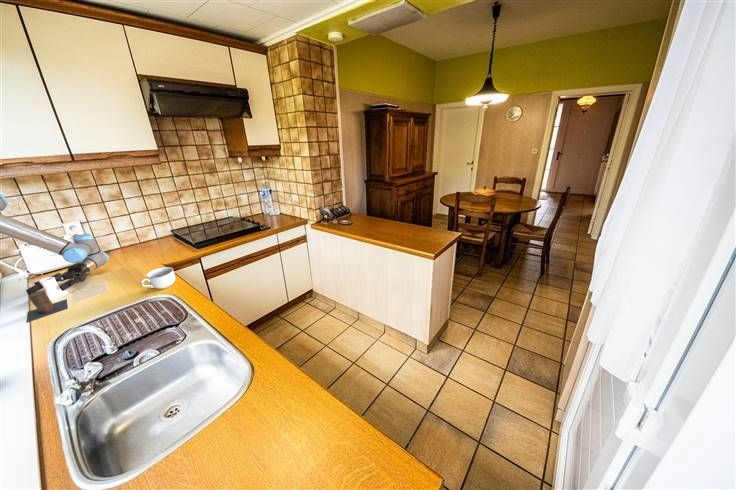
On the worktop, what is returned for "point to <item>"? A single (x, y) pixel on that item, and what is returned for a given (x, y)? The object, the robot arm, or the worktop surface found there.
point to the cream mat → (89, 292)
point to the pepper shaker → (41, 302)
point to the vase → (52, 288)
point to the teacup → (160, 278)
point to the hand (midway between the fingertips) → (44, 290)
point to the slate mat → (36, 315)
